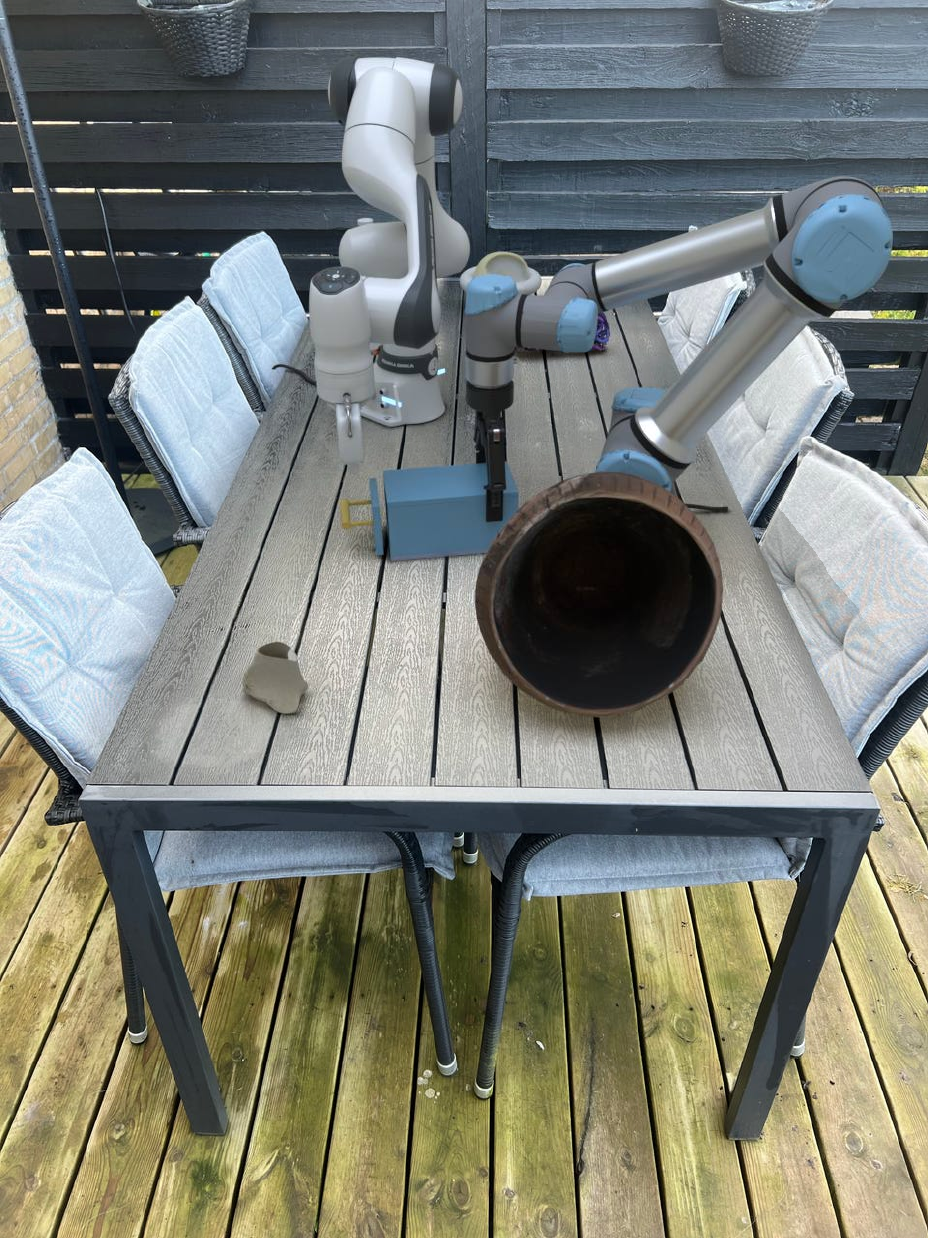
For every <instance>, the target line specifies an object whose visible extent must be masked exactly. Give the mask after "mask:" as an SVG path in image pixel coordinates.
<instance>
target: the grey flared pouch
mask: <svg viewBox="0 0 928 1238" xmlns="http://www.w3.org/2000/svg"><path fill="white" fill-rule="evenodd" d="M297 655H298V654H296V652H295V651H294V649H292V647H291V646H290V645H288V644H286V643H285V642H281V641H274V642H269V643H266V644H264V645H262V646H260V647H259V648H258V649H257V651H256V653H255V654H254V656H253V659H252V660H251V663H250V664H249V665H248V667H247V669H246V670H245V672H244V674H243V677H242V681H241V685H242V693H243V694H244V695H248V696H251V697H253V698H254V699H256V700H258V701H262V702H264V703H266V704H267V705H268V706H269V707H270V708H272V709H273V710H274V711H275V712H277V713H280V714H283V715H286V714H295V713H296V712H297V711H298V708H299V705H300V699H301V697H302V696H303V694H304V693H305V692H306V691H308V689H309V682H308V681H307V680H305V679H304V677H303V675H302V673H301V672H302V671H301V668H300V665H299V659H298V656H297Z"/></svg>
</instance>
